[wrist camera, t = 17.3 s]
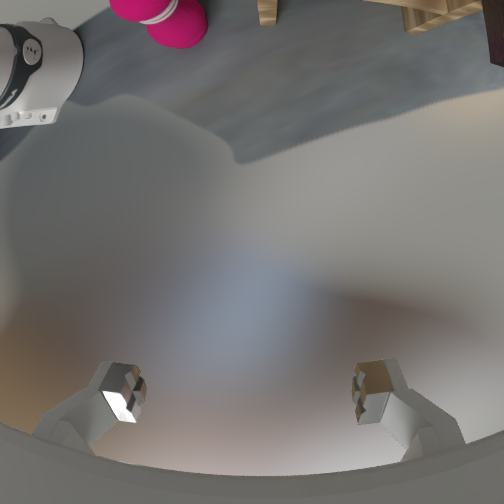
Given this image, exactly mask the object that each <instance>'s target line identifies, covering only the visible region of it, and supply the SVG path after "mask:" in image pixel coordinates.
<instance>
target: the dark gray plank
mask: <svg viewBox="0 0 504 504" xmlns="http://www.w3.org/2000/svg"><path fill="white" fill-rule="evenodd" d="M481 3H482V8H483V13H484V18H485V24H486V30H487V37H488V45H489V53H490V63H492V64H495V65H498V66H501V67H504V0H481Z"/></svg>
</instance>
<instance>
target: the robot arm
mask: <svg viewBox="0 0 504 504" xmlns="http://www.w3.org/2000/svg"><path fill="white" fill-rule="evenodd" d="M82 66H83V49H82V44H81V42H80V39H79V38H78V36H77V35H76V34H75V33H74V32H73V31H72V30H70V29H68V28H66V27H62V26H59V25H58V24H57V23H56V22H55V20H54V19H52V18H44V19H43V20H41V21H40V22H34V21H19V22H18V23H17V24H15V25H14V24H0V128H10V127H19V126H29V125H41V124H52V123H54V122H55V121H56V120H57V118H58V116H59V113H60V110H61V107H62V105H63V103H64V102H65V101H66V100H67V98H68V97H69V96H70V94H71V93H72V92H73V90H74V88H75V86H76V84H77V82H78V80H79V77H80V74H81V71H82ZM45 115H46V118H45ZM354 371H355V375H356V376H355V377H354V378H353V379H352V390H351V391H352V399H353V402H354V403H355V404H356V410H355V413H356V418H357V422H358V425H362V424H371V423H378V422H380V424H381V425H382V426H383V427H384V428H385V429H386V430H387V431H388V432H389V433H390V434H391V435H392V436H393V437H394V438H395V439H396V440H397V441H398V442H399V443H400V444H401V445H402V446H403V447H404V448H405V449H406V450H407V451H406V453H405V455H404V456H403V458H402V459H401V461H400V462H397V463H393V464H387V465H382V466H376V467H370V468H365V469H357V470H350V471H342V472H333V473H323V474H310V475H293V476H232V475H215V474H214V475H213V474H202V473H191V472H182V471H175V470H167V469H161V468H154V467H148V466H142V465H137V464H132V463H127V462H122V461H118V460H113V459H109V458H104V457H101V456H97V455H95V453H94V452H93V451H92V450H91V449H90V446H91V445H92V444H93V443H95V442H96V441H97V440H98V439H99V438H100V437H101V436H102V435H103V434H104V433H106V432H107V431H108V430H109V429H110V428H111V427H112V426H113V425H114V424H116V423H117V422H118V420H120V421H128V422H135V423H136V422H137V420H138V417H139V415H140V412H141V409H140V406H139V405H140V404H142V403H143V402H144V401H145V398H146V393H147V387H146V383H145V380H144V379H143V378H142V377H141V376H139V375H140V373H141V371H140V369H139V367H138V366H137V365H133V364H124V363H116V362H107V361H103V362H102V363H101V364H100V365H99V367H98V369H97V371H96V373H95V374H94V376H93V378H92V380H91V382H90V384H89V385H88V387H87V389H85V388H83V389H82V390H80V391H79V392H77V393H76V394H74V395H72V396H71V397H69V398H68V399H66V400H65V401H63V402H61V403H60V404H58V405H57V406H55V407H53V408H52V409H50V410H49V411H47V412H45V413H44V414H43V416H42V417H41V419H40V421H39V422H38V424H37V426H36V428H35V430H34V431H33V433H32V435H31V434H28V433H26V432H23V431H21V430H18V429H16V428H13V427H11V426H9V425H6V424H4V423H2V422H0V504H504V430H503V431H500V432H498V433H495V434H493V435H490V436H487V437H485V438H482V439H479V440H476V441H474V442H471V443H468V444H465V441H464V438H463V436H462V433H461V431H460V428H459V426H458V424H457V421H456V419H455V418H453V417H452V416H451V415H449V414H448V413H446V412H445V411H443V410H442V409H440V408H439V407H438V406H436V405H435V404H433V403H432V402H430V401H429V400H428V399H426V398H425V397H423V396H422V395H421V394H419V393H418V392H416V391H415V390H413V389H408V386H407V384H406V381H405V379H404V376H403V374H402V371H401V369H400V366H399V364H398V361H397V359H396V358H391V359H383V360H375V361H368V362H359V363H356V365H355V369H354Z"/></svg>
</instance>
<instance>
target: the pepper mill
mask: <svg viewBox="0 0 504 504" xmlns="http://www.w3.org/2000/svg"><path fill="white" fill-rule="evenodd" d="M109 1H110V5H111V8H112V9H113V11H114V12H115V13H116V14H117V15H118V16H119V17H121V18H123V19H125V20H128V21H132V22H140V23H143V24H146V28H147V31H148V33H149V35H150V36H151V37H152V38H153V39H154V40H155V41H156V42H157V43H159V44H161V45H163V46H167V47H174V48H179V49H184V48H189V47H192V46H194V45H196V44H197V43H199V42H200V41H201V40H202V39H203V37H204V36H205V34H206V31H207V20H206V18H205V12H204V9H203V7H202V6H201V5H200V3H199V2H197V1H196V0H109Z"/></svg>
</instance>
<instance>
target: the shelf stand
mask: <svg viewBox="0 0 504 504" xmlns="http://www.w3.org/2000/svg"><path fill="white" fill-rule="evenodd" d="M364 1H372V2H380V3H387V4H393V5H399V6H401V7H402V14H403V20H404V28H405V33H411V34H417V35H418V34H420V33H422V32H425V31H427V30H430V29H432V28H435V27H437V26H440V25H442V24H445V23H448V22H450V21H453V20H456V19H458V18H461V17H464V16H467V15H470V14H473V13H476V12H479V11H482V10H483V8H482V3H481V0H364ZM257 3H258V10H259V18H260V26H264V25H276V15H277V0H257Z"/></svg>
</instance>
